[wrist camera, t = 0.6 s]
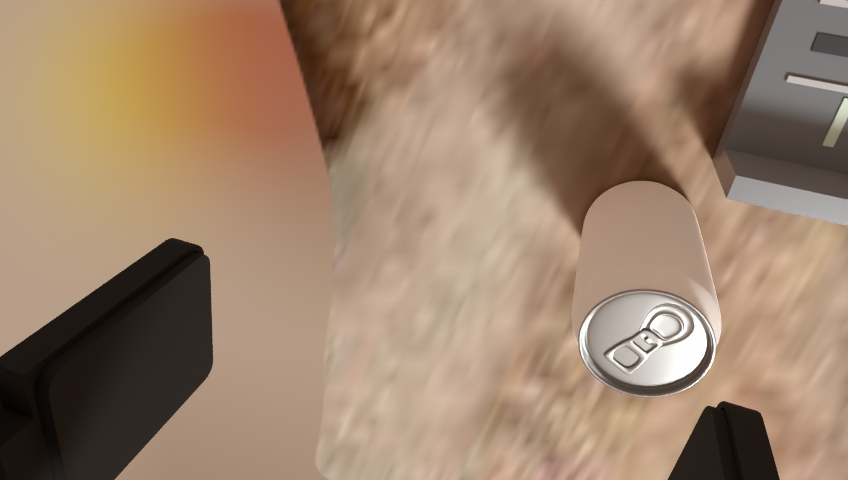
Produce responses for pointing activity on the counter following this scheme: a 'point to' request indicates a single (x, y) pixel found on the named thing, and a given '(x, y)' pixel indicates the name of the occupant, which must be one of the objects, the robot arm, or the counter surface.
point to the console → (792, 115)
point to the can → (644, 292)
